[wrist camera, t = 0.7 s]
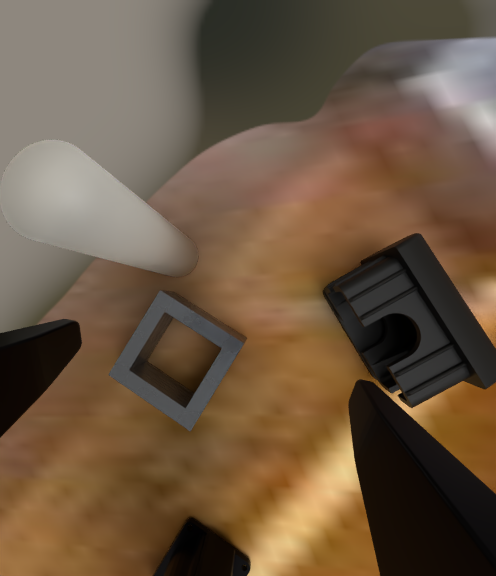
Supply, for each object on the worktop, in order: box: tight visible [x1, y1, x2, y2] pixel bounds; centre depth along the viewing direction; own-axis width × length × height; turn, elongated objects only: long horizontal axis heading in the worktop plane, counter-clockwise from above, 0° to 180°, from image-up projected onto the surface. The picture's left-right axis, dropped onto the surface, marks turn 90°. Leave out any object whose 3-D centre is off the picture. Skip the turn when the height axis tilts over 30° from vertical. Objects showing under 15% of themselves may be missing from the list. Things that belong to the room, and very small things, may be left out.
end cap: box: [323, 233, 496, 408], centre depth 19 cm, size 10×7×7 cm
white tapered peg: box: [0, 139, 198, 277], centre depth 17 cm, size 4×4×14 cm
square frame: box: [109, 290, 247, 431], centre depth 22 cm, size 8×8×3 cm
